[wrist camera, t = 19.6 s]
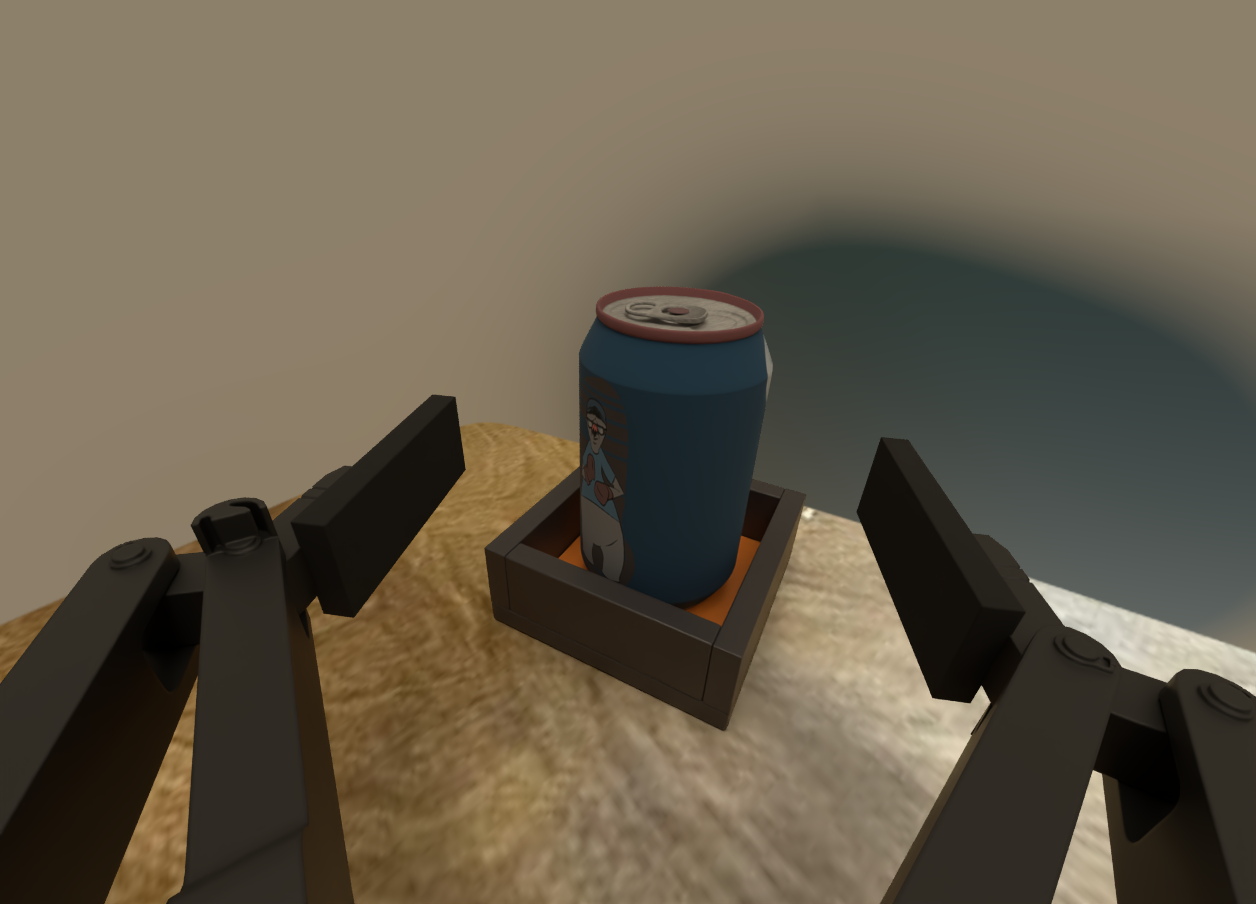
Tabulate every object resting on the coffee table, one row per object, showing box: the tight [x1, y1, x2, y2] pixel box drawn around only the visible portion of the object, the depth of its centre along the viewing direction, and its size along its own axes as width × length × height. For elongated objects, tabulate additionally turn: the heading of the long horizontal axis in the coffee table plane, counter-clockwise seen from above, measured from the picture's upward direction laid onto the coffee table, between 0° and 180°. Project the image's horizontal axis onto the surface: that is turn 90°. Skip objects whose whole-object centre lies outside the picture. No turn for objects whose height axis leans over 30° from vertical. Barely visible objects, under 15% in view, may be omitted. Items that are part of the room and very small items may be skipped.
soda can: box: [579, 287, 773, 610], centre depth 21 cm, size 7×7×12 cm
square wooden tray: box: [485, 466, 806, 730], centre depth 24 cm, size 10×10×4 cm
